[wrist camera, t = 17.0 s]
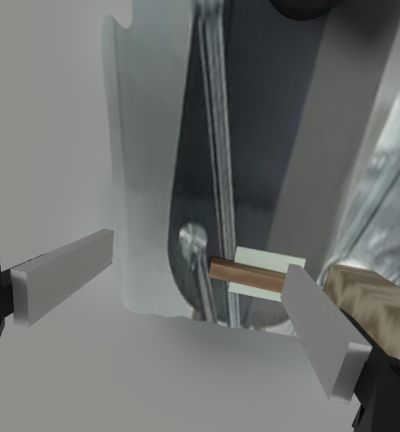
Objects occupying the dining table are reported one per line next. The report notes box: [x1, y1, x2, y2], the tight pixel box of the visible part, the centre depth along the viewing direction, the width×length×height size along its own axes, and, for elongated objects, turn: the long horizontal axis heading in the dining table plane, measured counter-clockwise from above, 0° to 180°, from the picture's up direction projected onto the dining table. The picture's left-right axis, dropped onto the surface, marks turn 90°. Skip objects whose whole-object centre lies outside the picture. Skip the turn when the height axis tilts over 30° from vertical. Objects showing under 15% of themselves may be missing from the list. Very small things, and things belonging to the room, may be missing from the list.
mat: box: [228, 246, 306, 302], centre depth 46 cm, size 12×16×1 cm
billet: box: [208, 257, 287, 293], centre depth 45 cm, size 4×20×4 cm, turn 80°
